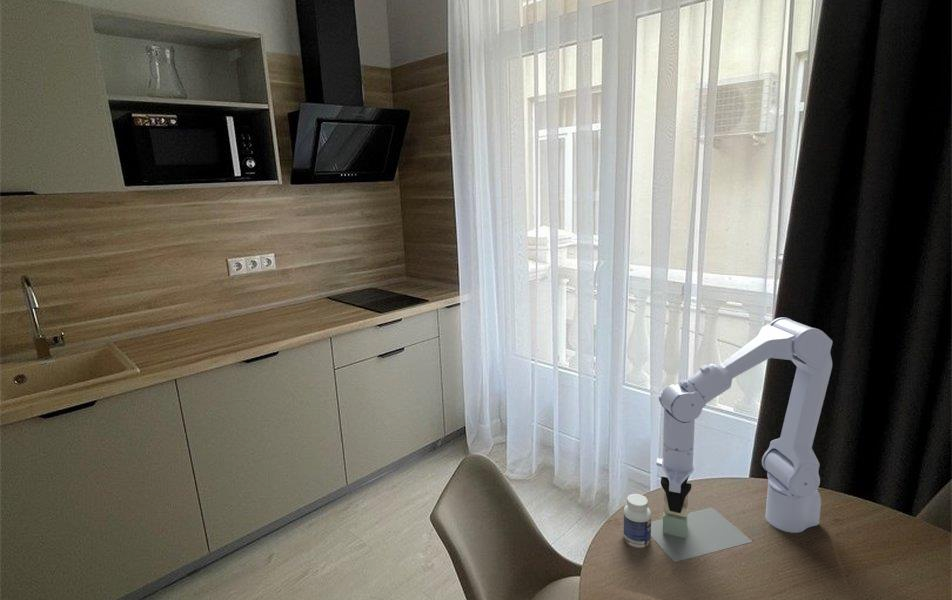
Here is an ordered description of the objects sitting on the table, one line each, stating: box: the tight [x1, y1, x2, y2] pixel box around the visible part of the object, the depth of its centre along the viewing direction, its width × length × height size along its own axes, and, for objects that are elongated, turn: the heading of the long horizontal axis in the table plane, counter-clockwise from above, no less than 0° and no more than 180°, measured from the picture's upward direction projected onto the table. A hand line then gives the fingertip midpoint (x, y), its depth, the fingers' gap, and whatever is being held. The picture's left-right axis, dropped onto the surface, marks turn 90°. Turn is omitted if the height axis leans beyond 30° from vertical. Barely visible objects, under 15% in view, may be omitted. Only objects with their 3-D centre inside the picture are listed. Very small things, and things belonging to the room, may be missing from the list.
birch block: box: [663, 490, 689, 517], centre depth 100 cm, size 4×4×4 cm
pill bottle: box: [622, 493, 652, 548], centre depth 99 cm, size 5×5×10 cm
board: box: [651, 507, 754, 563], centre depth 100 cm, size 18×12×1 cm, turn 104°
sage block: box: [662, 508, 689, 538], centre depth 101 cm, size 4×4×4 cm
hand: (675, 504), depth 100 cm, fingers closed on birch block, 4 cm apart
